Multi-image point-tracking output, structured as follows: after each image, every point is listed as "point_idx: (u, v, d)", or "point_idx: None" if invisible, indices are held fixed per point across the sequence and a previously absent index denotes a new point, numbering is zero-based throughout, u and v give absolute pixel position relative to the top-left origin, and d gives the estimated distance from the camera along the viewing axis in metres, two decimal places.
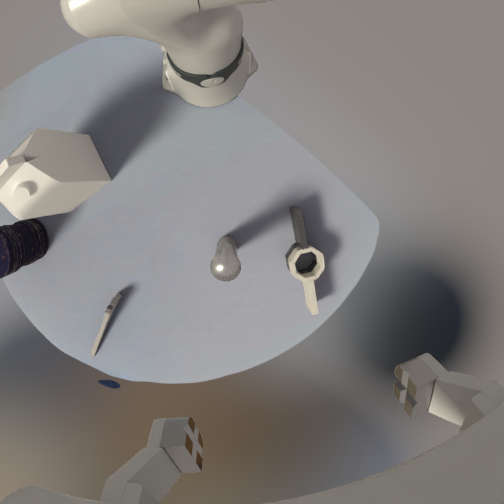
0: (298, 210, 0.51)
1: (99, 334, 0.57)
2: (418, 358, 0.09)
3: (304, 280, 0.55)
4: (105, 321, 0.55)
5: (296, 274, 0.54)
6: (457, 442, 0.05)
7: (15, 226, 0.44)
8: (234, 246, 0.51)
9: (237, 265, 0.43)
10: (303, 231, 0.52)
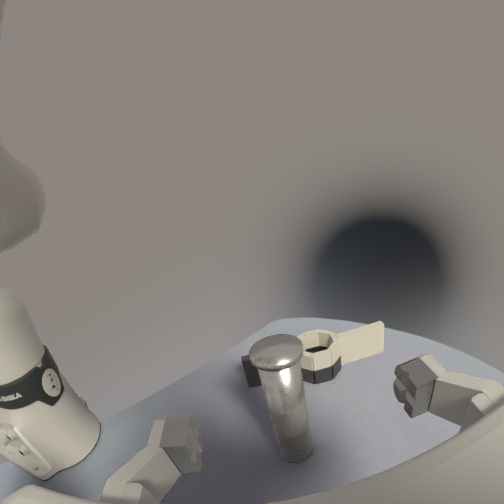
0: (243, 358, 0.39)
1: None
2: (418, 358, 0.09)
3: (337, 341, 0.38)
4: None
5: (329, 349, 0.37)
6: (457, 442, 0.05)
7: None
8: None
9: (274, 337, 0.24)
10: None
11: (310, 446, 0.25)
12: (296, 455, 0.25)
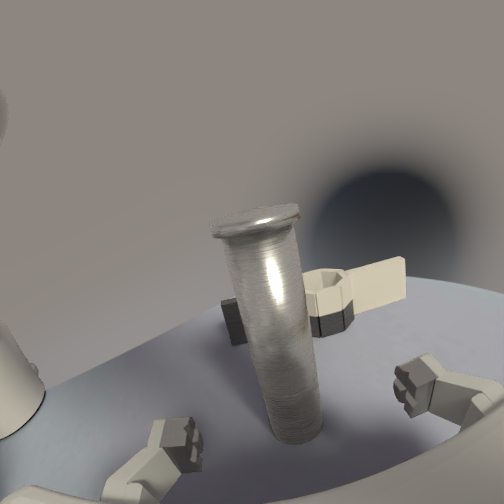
0: (222, 302, 0.30)
1: None
2: (418, 358, 0.09)
3: (347, 277, 0.29)
4: None
5: (337, 285, 0.28)
6: (457, 442, 0.05)
7: None
8: None
9: (254, 209, 0.16)
10: None
11: (320, 416, 0.17)
12: (297, 430, 0.16)
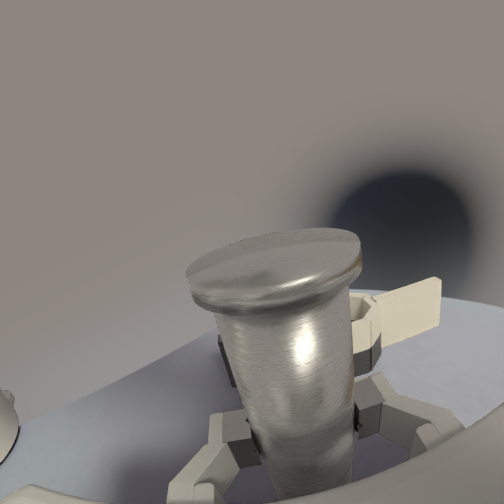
0: (220, 338, 0.23)
1: None
2: (368, 378, 0.09)
3: (376, 305, 0.22)
4: None
5: (366, 317, 0.21)
6: (457, 442, 0.05)
7: None
8: None
9: (269, 236, 0.09)
10: None
11: None
12: None
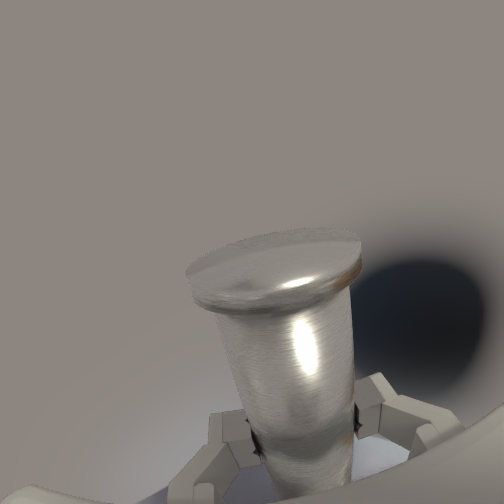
0: None
1: None
2: (368, 378, 0.09)
3: None
4: None
5: None
6: (457, 442, 0.05)
7: None
8: None
9: (269, 236, 0.09)
10: None
11: None
12: None
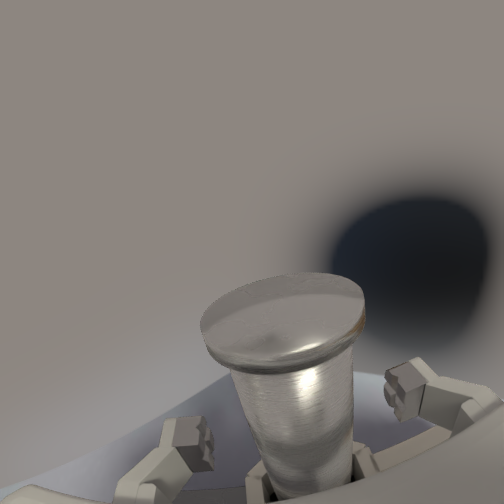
0: None
1: None
2: (408, 362, 0.09)
3: None
4: None
5: None
6: (457, 442, 0.05)
7: None
8: None
9: (277, 281, 0.09)
10: (184, 496, 0.10)
11: None
12: None
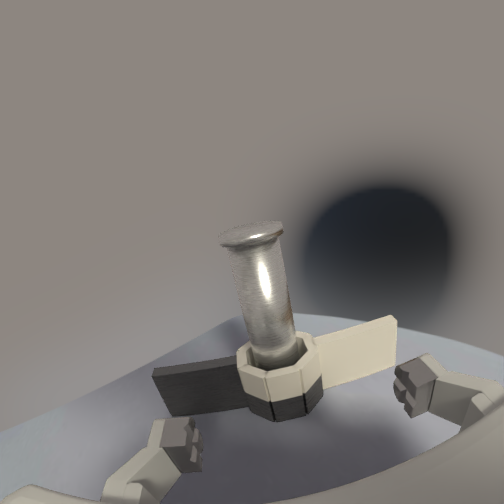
0: (155, 371, 0.22)
1: None
2: (418, 358, 0.09)
3: (313, 350, 0.21)
4: None
5: (297, 364, 0.20)
6: (457, 442, 0.05)
7: None
8: None
9: (250, 224, 0.22)
10: (198, 364, 0.23)
11: None
12: None
